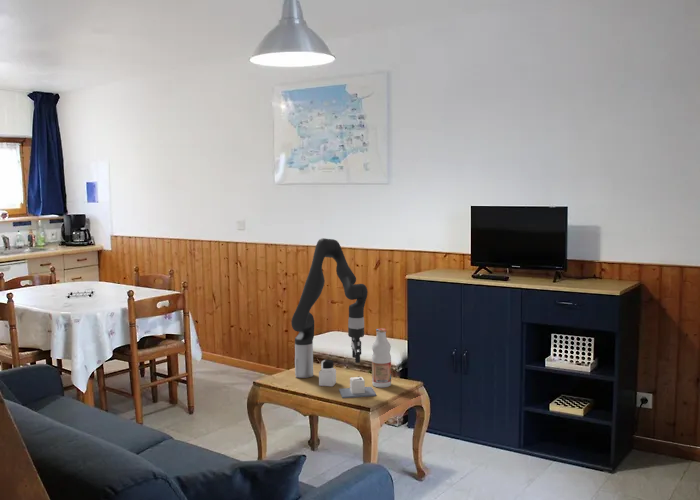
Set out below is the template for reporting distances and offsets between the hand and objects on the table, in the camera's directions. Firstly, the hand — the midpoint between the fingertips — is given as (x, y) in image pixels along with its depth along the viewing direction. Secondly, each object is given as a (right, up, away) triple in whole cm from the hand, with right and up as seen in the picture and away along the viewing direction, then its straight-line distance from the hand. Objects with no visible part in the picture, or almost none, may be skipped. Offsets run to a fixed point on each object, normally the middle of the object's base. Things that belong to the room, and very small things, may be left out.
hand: (356, 360), depth 306 cm
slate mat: (+1, -16, +2) cm, 16 cm away
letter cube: (+1, -15, +2) cm, 15 cm away
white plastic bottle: (+13, -15, +14) cm, 24 cm away
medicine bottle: (-14, -15, +17) cm, 26 cm away
